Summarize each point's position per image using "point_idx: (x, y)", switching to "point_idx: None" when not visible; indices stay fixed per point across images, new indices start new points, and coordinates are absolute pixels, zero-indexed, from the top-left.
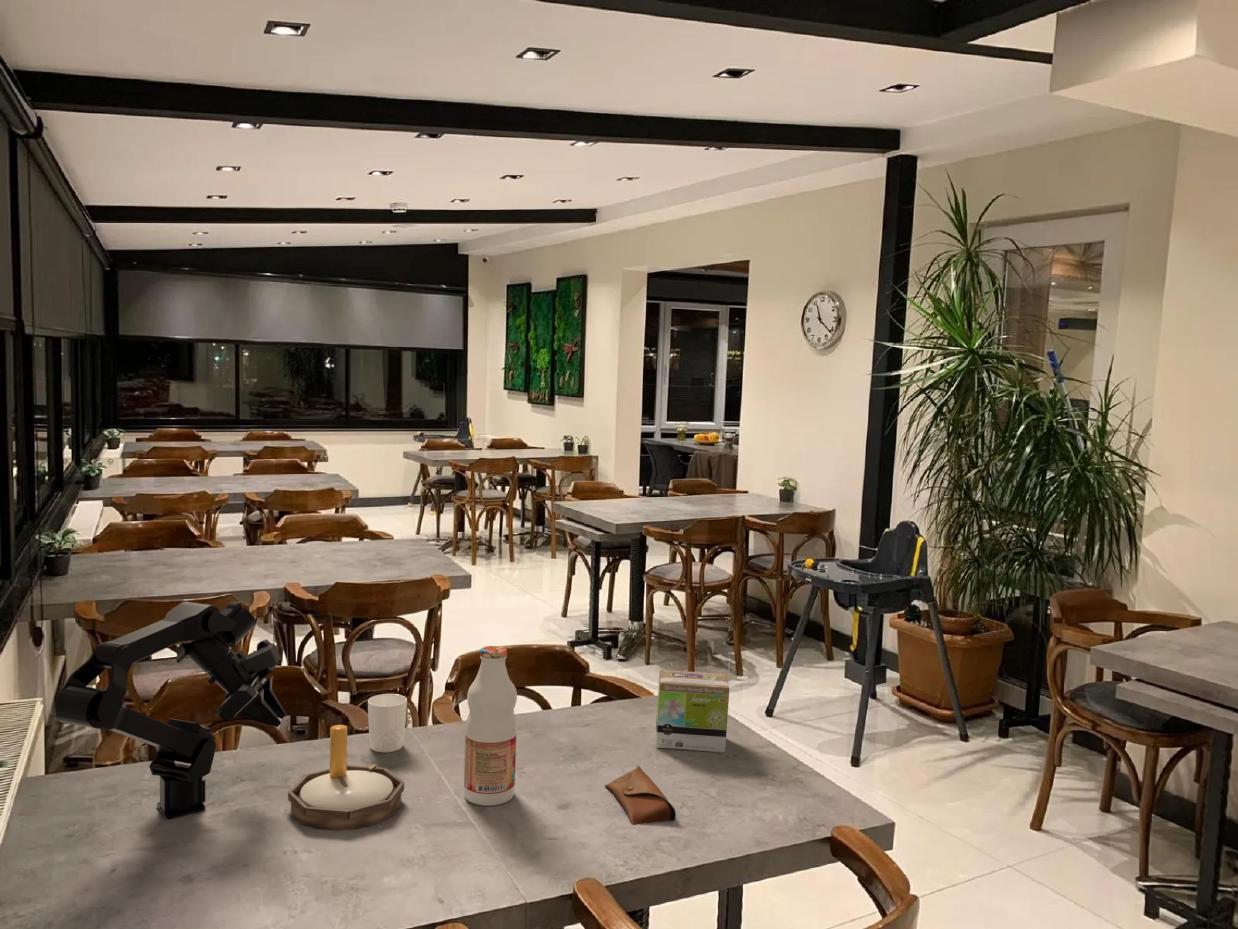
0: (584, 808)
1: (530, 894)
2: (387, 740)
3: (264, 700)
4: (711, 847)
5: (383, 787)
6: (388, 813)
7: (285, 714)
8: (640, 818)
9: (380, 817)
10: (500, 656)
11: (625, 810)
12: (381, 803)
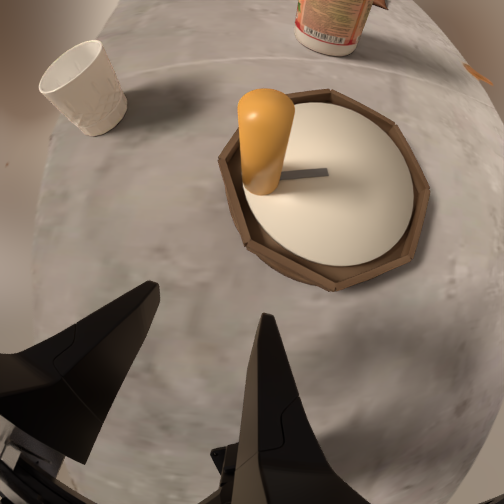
0: None
1: (489, 103)
2: (119, 99)
3: (91, 397)
4: (413, 8)
5: (340, 117)
6: None
7: (155, 283)
8: (385, 4)
9: None
10: None
11: None
12: (403, 137)
